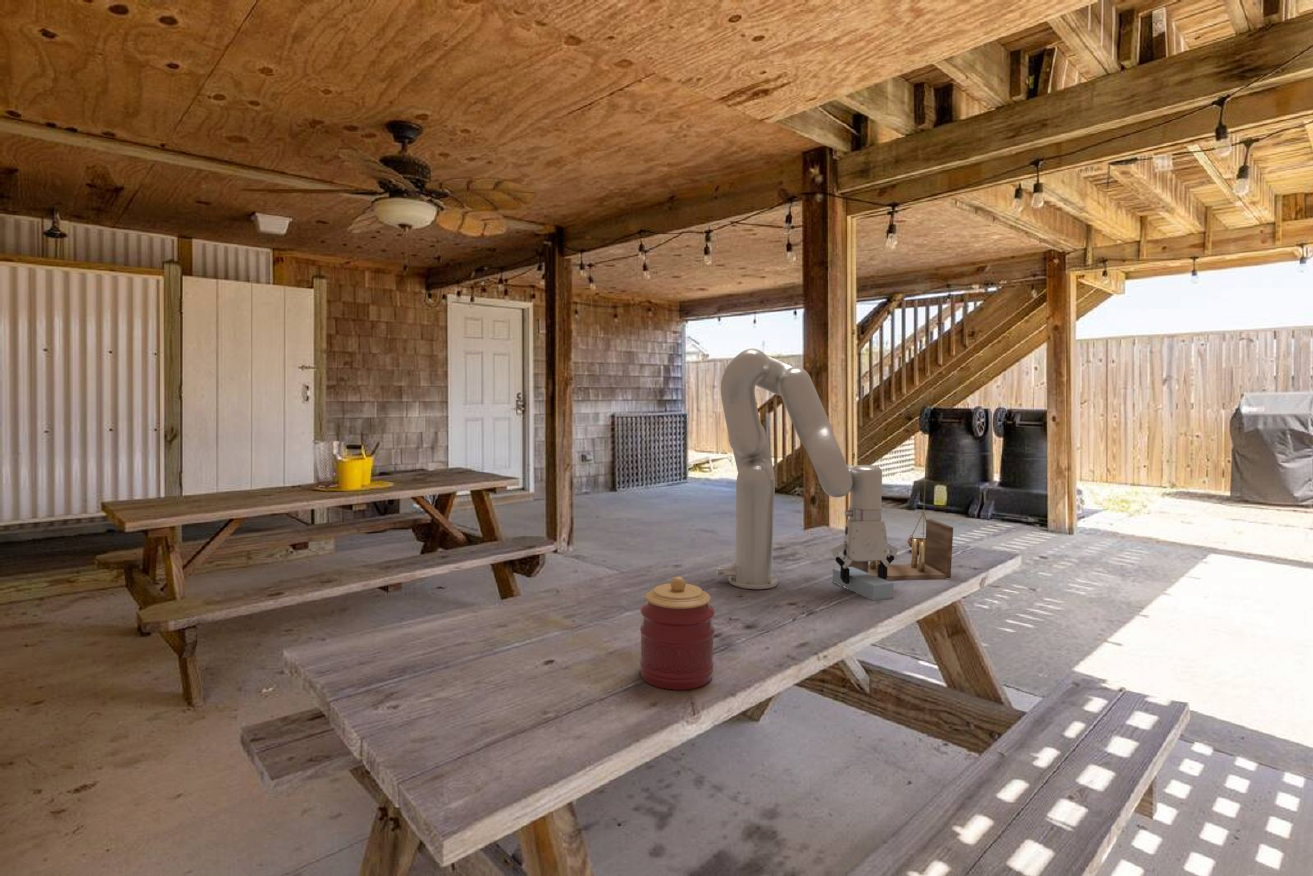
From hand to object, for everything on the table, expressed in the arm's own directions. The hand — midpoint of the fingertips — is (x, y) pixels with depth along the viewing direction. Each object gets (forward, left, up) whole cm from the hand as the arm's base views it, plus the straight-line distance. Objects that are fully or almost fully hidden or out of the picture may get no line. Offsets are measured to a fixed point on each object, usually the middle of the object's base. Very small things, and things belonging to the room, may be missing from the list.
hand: (863, 581), depth 174 cm
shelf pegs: (+16, +13, -1) cm, 20 cm away
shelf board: (0, 0, -2) cm, 2 cm away
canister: (-55, -46, -2) cm, 72 cm away
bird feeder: (+36, +36, -2) cm, 51 cm away
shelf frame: (+16, +13, -2) cm, 20 cm away
